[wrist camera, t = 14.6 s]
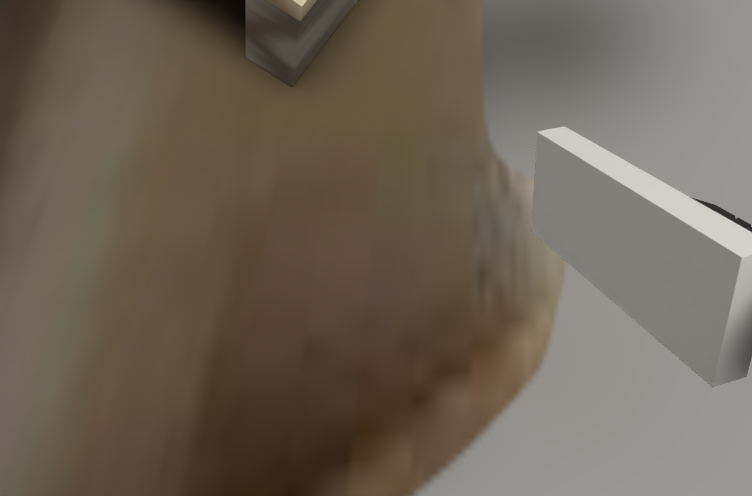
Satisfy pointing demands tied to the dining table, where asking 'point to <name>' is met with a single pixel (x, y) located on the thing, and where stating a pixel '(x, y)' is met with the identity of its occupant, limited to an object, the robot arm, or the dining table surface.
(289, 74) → the shelf
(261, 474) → the dining table surface
